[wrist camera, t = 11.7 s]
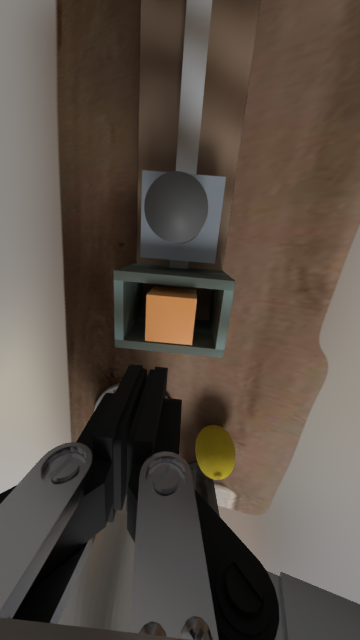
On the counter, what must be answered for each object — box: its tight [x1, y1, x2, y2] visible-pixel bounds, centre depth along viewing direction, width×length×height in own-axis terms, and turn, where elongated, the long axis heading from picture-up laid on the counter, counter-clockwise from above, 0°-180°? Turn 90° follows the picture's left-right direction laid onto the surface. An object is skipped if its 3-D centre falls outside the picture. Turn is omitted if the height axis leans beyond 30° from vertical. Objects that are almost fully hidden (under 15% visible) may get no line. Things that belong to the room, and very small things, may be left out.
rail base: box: [113, 0, 261, 358], centre depth 19 cm, size 32×10×10 cm, turn 175°
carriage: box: [140, 170, 226, 264], centre depth 18 cm, size 7×7×10 cm
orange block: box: [145, 286, 197, 345], centre depth 20 cm, size 4×4×4 cm
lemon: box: [195, 425, 235, 480], centre depth 31 cm, size 6×6×8 cm
